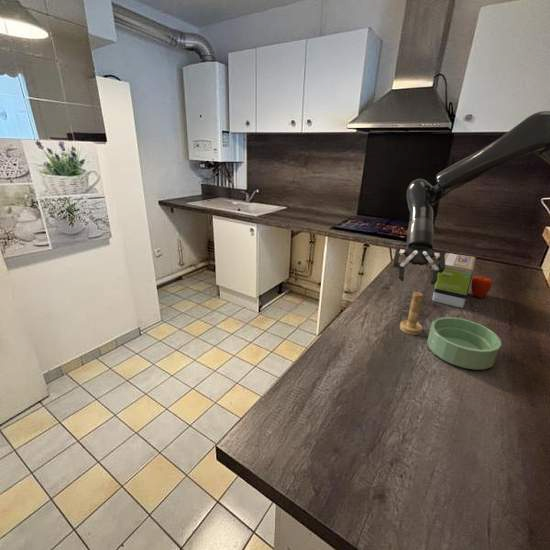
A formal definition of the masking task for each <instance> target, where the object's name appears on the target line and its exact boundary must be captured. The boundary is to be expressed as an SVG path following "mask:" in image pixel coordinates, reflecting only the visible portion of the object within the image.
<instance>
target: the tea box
mask: <svg viewBox="0 0 550 550" xmlns="http://www.w3.org/2000/svg"><path fill="white" fill-rule="evenodd" d="M476 259H477V257H476V256H471V255H463V254H459V253H450V252H446V253H445V269H444V270H443V272H442V273H440V272H439V273H438V279H437V282H436V283H435V284H434V285H435V286H434V289H433V294H432V302H435V303H439V304H444V305H448V306H451V307H452V306H453V307H456V308H461V309H463V308H464V306H465V304H466V300H467V297H468V295H469V294H468V293H469V289H470V287H471V283H472V279H473V274H474V270H475V267H476Z"/></svg>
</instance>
